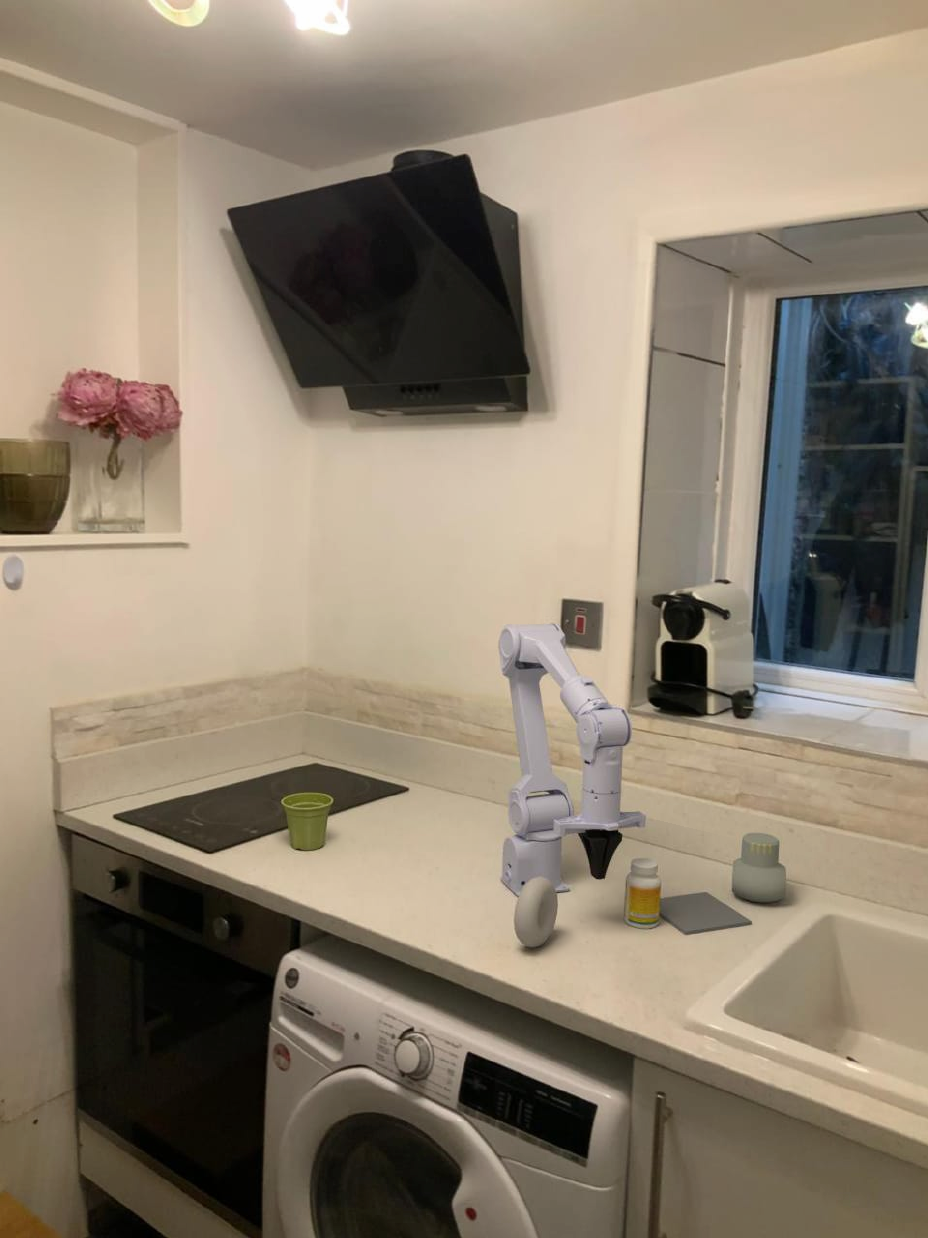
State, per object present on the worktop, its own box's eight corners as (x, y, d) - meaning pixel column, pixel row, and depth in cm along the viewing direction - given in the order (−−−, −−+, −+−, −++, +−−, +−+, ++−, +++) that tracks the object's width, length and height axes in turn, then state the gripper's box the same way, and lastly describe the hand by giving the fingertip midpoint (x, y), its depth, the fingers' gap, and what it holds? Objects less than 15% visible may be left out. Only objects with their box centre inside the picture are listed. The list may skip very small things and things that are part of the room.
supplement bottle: (617, 917, 151) (620, 858, 150) (647, 913, 153) (650, 854, 152) (635, 931, 146) (638, 870, 145) (665, 927, 148) (669, 866, 147)
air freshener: (785, 912, 155) (789, 852, 154) (731, 905, 157) (735, 846, 156) (782, 887, 165) (785, 830, 164) (731, 881, 167) (735, 825, 166)
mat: (685, 935, 146) (685, 931, 146) (643, 903, 157) (643, 900, 157) (751, 924, 150) (752, 921, 150) (706, 894, 161) (706, 891, 161)
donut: (539, 929, 146) (542, 865, 145) (560, 935, 144) (563, 870, 143) (508, 955, 138) (510, 887, 137) (530, 961, 136) (532, 892, 135)
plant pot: (288, 857, 173) (288, 810, 172) (276, 840, 182) (276, 795, 181) (339, 851, 177) (339, 804, 176) (324, 834, 185) (325, 790, 184)
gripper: (570, 800, 138) (566, 892, 140) (658, 792, 143) (653, 881, 145) (548, 787, 145) (545, 875, 146) (633, 779, 150) (629, 864, 151)
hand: (597, 877), depth 146 cm, fingers closed
